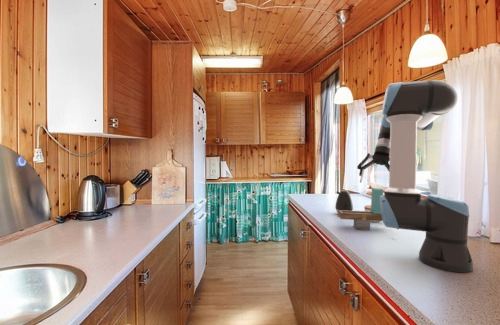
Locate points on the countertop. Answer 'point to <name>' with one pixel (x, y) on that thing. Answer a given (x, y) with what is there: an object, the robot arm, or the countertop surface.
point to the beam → (360, 218)
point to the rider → (376, 200)
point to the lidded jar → (367, 208)
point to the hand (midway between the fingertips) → (374, 184)
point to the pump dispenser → (344, 201)
